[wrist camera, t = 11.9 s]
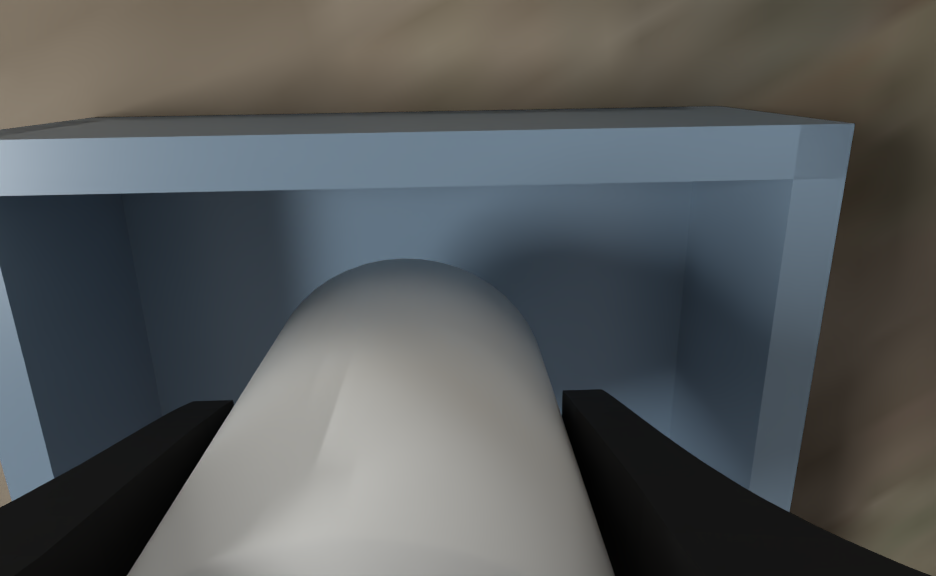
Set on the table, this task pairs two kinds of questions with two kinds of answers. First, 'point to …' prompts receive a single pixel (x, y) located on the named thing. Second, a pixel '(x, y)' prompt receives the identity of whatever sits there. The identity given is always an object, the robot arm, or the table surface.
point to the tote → (420, 237)
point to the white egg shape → (389, 445)
